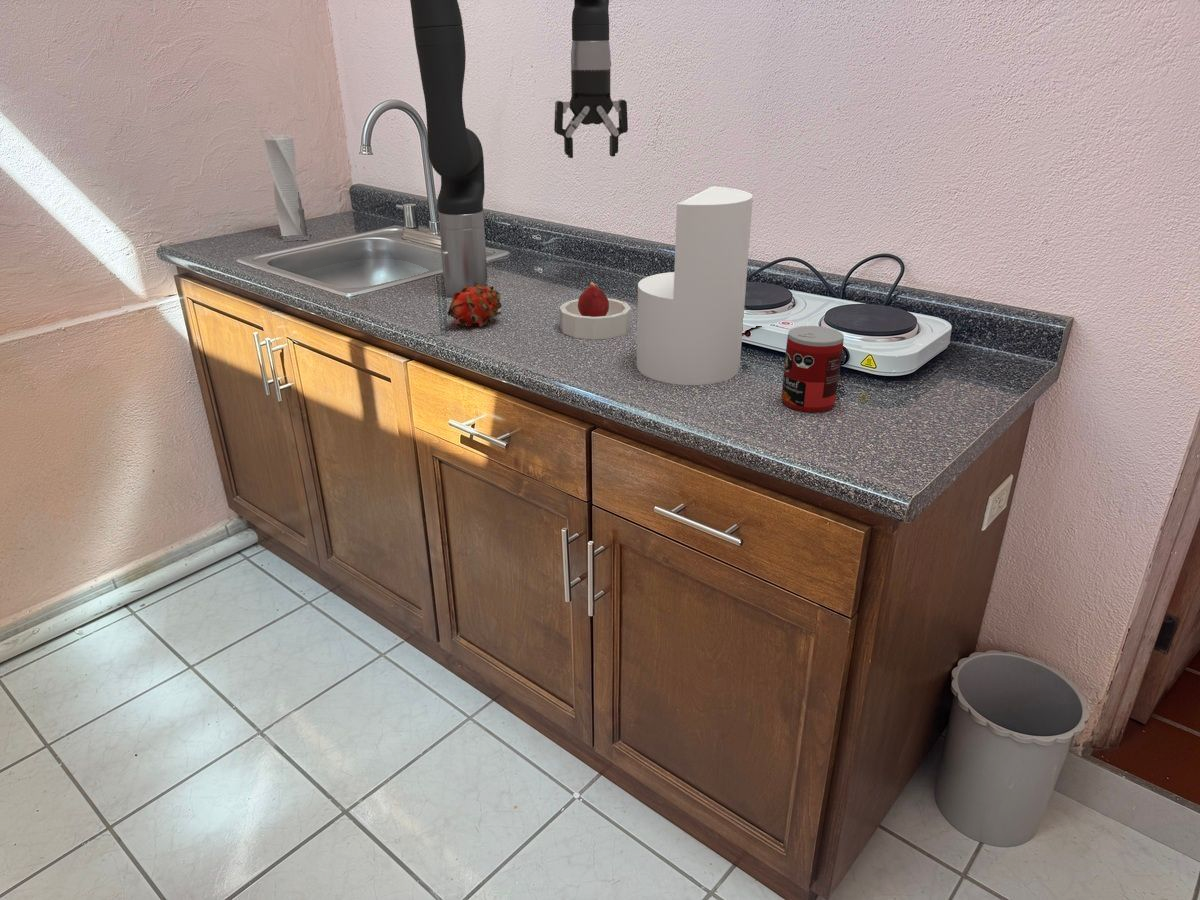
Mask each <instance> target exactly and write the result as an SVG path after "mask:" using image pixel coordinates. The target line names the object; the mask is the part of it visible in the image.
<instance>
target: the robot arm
mask: <svg viewBox="0 0 1200 900" xmlns="http://www.w3.org/2000/svg"><path fill="white" fill-rule="evenodd" d="M573 1H574V3H573V4H574V5H573V9H572V12H571V13H572V14H571V40H572V41H571V50H570V75H571V79H570V80H571V81H570V82H571V83H570V85H571V91H570V92H571V93H570V94H571V97H570V100H569V101H561V100H556V101H555V103H554V125H553V126H554V127H553V128H554V130H553V131H554V133H555V134H557V135H558V136H562V137H563V143H564V144H563V145H564V147H563V148H564V154H565V155H566V156H567V158H569V159H574V147H573V146H574V141H573V139H574V138H573V137H572V136H573V134H574V133H575V131H576V129H578V128H579V126H580V125H581V124H582V125H587V126H588V125H592V124H593V125H600V124H603V126H604V127H605V128H606V129H607V131H608V133H610V135H609V156H610V157H612V158H613V157H616V154H618V152H619V137H620V136H621V135H622V134H625V133H628V131H629V129H628V127H629V126H628V125H629V124H628V103H627V101H626V100H625V99H621V98H620V99H618V100H612V98H611V69H612V61H611V60H612V59H611V47H610V14H609V12H610V11H609V5H610V0H573ZM409 2H410V8H411V9H410V10H411V18H412V19H411V20H412V28H413V36H414V42H415V48H416V54H417V60H418V68H419V73H420V81H421V86H422V91H423V96H424V103H425V115H426V132H427V138H426V139H427V152H428V159H429V162H430V164H431V166H432V168H433V170H434V171H435V172H436V174H438V175H439V176H440V188H439V189H440V190H439V193H438V197H437V210H438V211H437V212H438V223H439V224H438V225H439V237H440V254H441V265H442V275H443V276H442V278H443V288H444V294H445V297H447V298H448V297H452V298H453V295H454V294H455V293H457V292H459V291H462V288H463V287H464V286H467V287H468V286H470V287H475V286H476V284H475V283H479V285H480V286H482V287H486V286H487V285H488V286H489V280H488V268H487V265H488V264H487V251H486V248H487V247H486V234H485V219H484V216H485V215H484V198H485V187H486V186H485V184H486V183H485V160H484V158H485V157H484V150H483V146H482V143H481V140H480V139H479V137H478V136H477V134H476V133H475V132H474V131H473V130H471V129H469V128H467V126H466V122H465V121H466V120H465V115H464V109H463V90H464V84H465V83H464V81H465V73H466V62H467V61H466V42H465V32H464V26H463V25H464V24H463V19H462V13H461V9H460V5H459V1H458V0H409ZM568 108H569V110H570V111H571V113H573V116H572V117H571V119H570V121H569V123H568V124H567V126H566V127H565V128H563V127H564V114H566V113H567V111H568ZM613 108H614V110H615V112H616V113H617V114H618V115H617V116H618V127H616V126H615V124H614V122H613V120H612V119H611V117H609V114H610V112H611V110H612V109H613Z"/></svg>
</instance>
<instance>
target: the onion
mask: <svg viewBox="0 0 1200 900" xmlns="http://www.w3.org/2000/svg"><path fill="white" fill-rule="evenodd" d="M578 299H579V300H578V310H579V312H580V314H581V315H582V316H589V317H600V316H606V314H607V313H608V310H609V301H608V299H609V298H608V297H607V295H606V294H605V292H604V291H603V290H602V289H601V288H600V287H598V285H596V284H595V283H594V282H589V287H588V288H586V289H585V290H584V291H583V292H582V293H581V294H580V296H579V297H578Z"/></svg>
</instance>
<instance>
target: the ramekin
mask: <svg viewBox="0 0 1200 900" xmlns="http://www.w3.org/2000/svg"><path fill="white" fill-rule="evenodd" d="M578 300H579V298H577V299H573V300H568V301H565V302H564V303H563V304H561V305H560V306H559V329H560V331H561V332H562V334H563V335H565V336H570V337H572V338H575V339H582V340H593V341H597V340H607V339H611V340H612V339H615V338H618V337H622V336H624V335H627V334H628V333H629V331H630V330H631V329H632V327H631V326H632V325H631V324H632V307H631V306H630V305H629V304H628V303H627V302H625V301H622V300H618V299H615V298H608V301H609V310H608V313H607V314H606V316H600V317H589V316H582V315H581V314H580V312H579V310H578Z"/></svg>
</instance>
